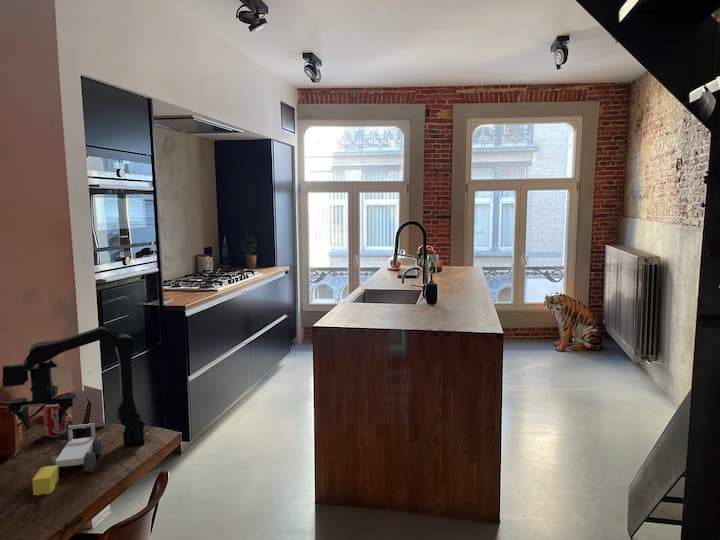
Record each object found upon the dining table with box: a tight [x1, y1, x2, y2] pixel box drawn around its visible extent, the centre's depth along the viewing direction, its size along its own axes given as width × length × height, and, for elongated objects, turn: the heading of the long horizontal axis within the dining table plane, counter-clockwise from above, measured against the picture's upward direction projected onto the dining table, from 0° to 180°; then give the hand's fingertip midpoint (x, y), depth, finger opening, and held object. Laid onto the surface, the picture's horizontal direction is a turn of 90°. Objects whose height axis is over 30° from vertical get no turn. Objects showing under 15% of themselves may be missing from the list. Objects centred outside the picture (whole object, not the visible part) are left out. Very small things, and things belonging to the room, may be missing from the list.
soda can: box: [42, 404, 67, 438], centre depth 191 cm, size 7×7×12 cm
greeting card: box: [70, 385, 105, 427], centre depth 197 cm, size 11×7×15 cm, turn 61°
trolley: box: [46, 423, 104, 473], centre depth 167 cm, size 18×12×10 cm
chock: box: [31, 465, 60, 496], centre depth 153 cm, size 4×8×5 cm, turn 15°
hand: (44, 427), depth 168 cm, fingers open, 9 cm apart
